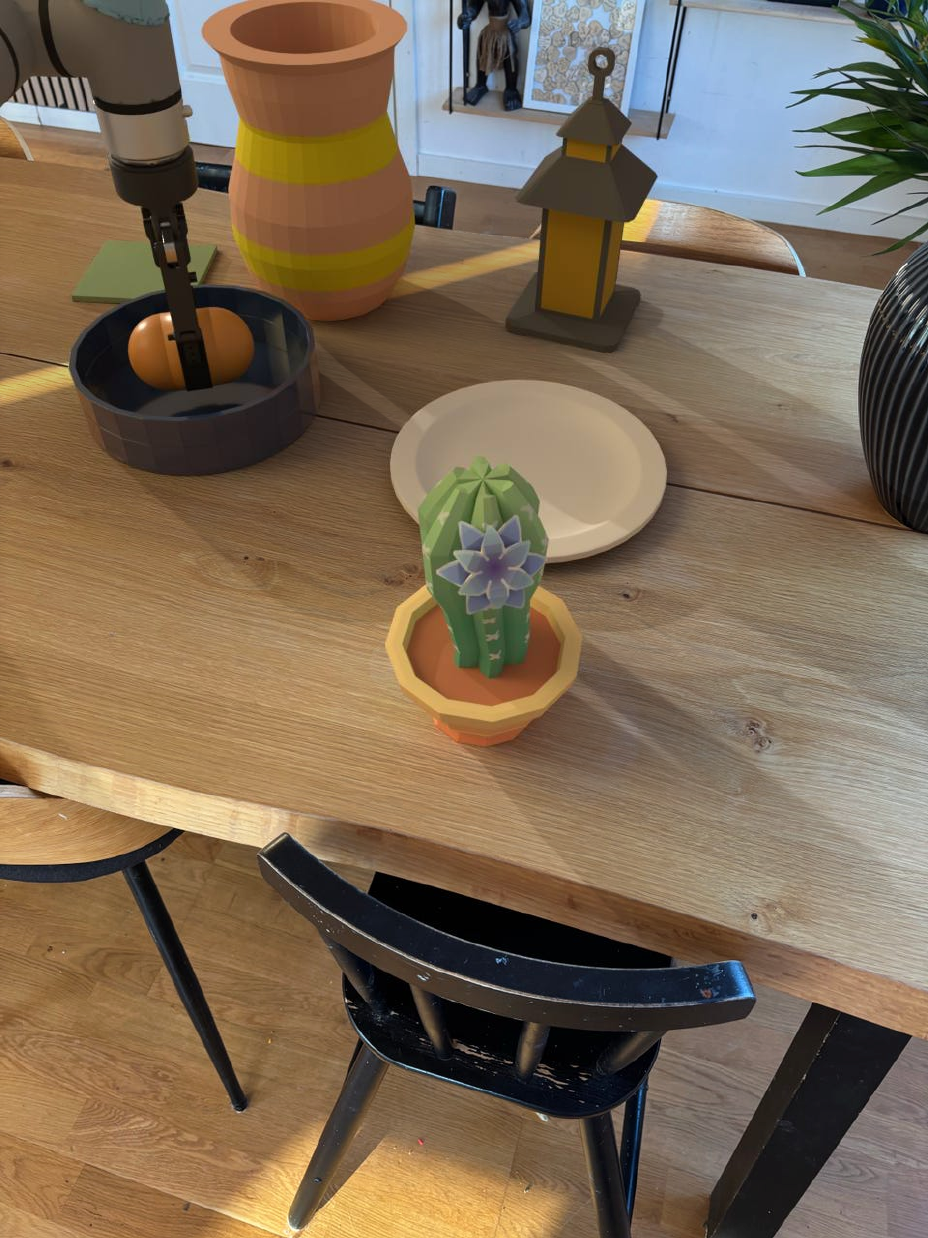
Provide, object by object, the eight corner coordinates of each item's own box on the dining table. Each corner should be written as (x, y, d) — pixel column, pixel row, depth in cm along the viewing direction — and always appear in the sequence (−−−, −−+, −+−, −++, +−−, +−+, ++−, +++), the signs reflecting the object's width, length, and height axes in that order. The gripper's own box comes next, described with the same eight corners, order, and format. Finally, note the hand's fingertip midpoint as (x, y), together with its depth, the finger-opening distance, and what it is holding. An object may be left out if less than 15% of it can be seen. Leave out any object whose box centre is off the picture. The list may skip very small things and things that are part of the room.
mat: (72, 301, 122) (70, 295, 122) (107, 245, 132) (105, 239, 131) (191, 307, 122) (190, 301, 121) (217, 250, 131) (216, 245, 131)
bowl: (54, 468, 101) (32, 413, 96) (127, 332, 118) (112, 278, 113) (298, 482, 100) (289, 427, 95) (336, 343, 117) (331, 289, 112)
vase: (436, 257, 131) (434, 2, 108) (387, 348, 116) (373, 76, 94) (281, 235, 134) (248, -16, 112) (215, 321, 120) (161, 52, 97)
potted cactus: (354, 736, 80) (326, 505, 61) (441, 609, 89) (439, 375, 70) (529, 810, 75) (556, 586, 57) (600, 669, 84) (644, 437, 66)
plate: (703, 554, 94) (708, 536, 92) (415, 594, 90) (415, 576, 88) (615, 384, 112) (618, 367, 110) (373, 411, 108) (371, 394, 106)
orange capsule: (140, 411, 103) (122, 345, 97) (135, 368, 108) (117, 303, 102) (263, 393, 106) (253, 328, 100) (253, 352, 111) (243, 287, 105)
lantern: (537, 274, 128) (556, 17, 106) (642, 296, 125) (685, 35, 102) (502, 330, 119) (515, 62, 97) (614, 354, 116) (655, 83, 94)
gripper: (204, 195, 83) (243, 416, 100) (181, 99, 96) (219, 309, 113) (112, 205, 81) (167, 427, 98) (101, 106, 94) (152, 317, 111)
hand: (195, 364), depth 105 cm, fingers closed on orange capsule, 8 cm apart
